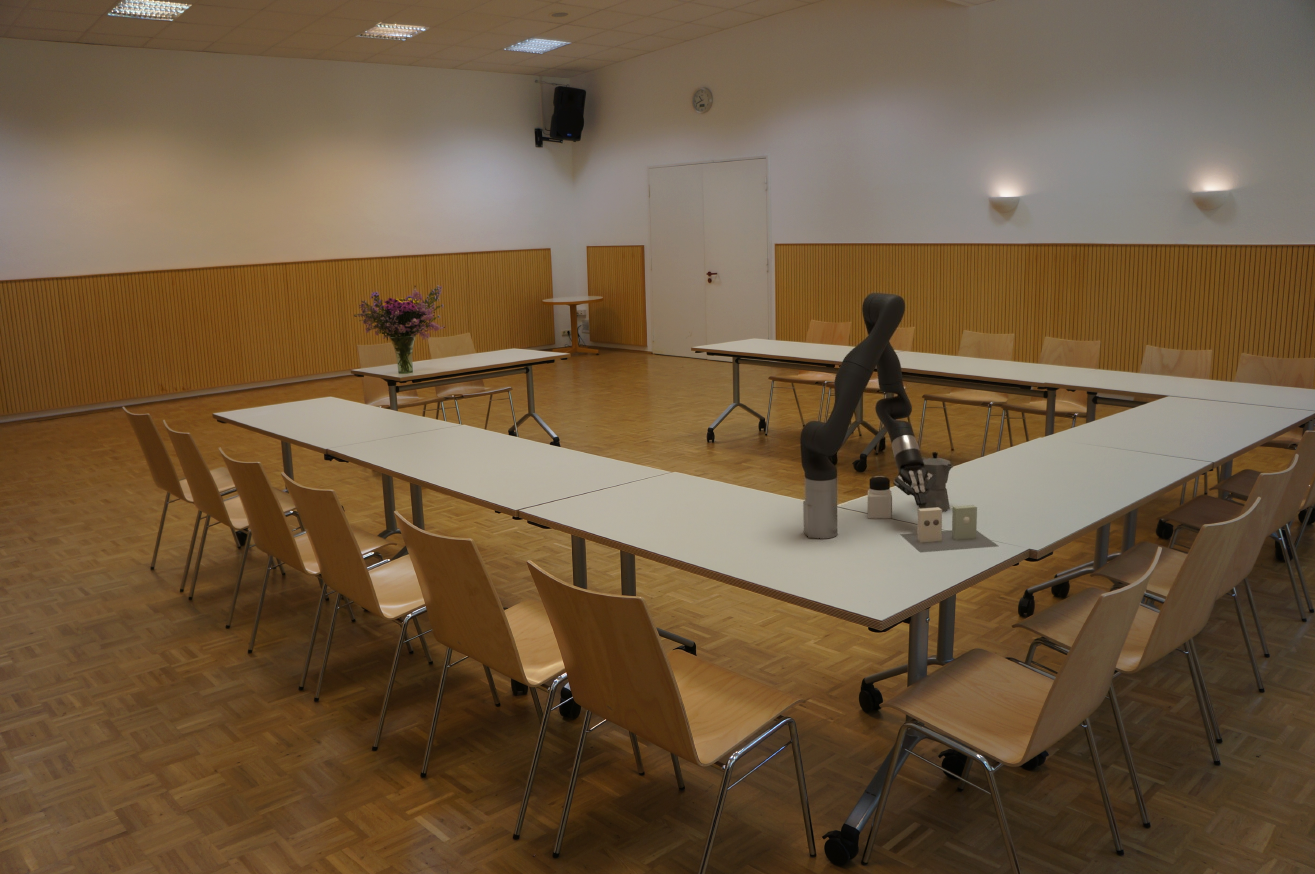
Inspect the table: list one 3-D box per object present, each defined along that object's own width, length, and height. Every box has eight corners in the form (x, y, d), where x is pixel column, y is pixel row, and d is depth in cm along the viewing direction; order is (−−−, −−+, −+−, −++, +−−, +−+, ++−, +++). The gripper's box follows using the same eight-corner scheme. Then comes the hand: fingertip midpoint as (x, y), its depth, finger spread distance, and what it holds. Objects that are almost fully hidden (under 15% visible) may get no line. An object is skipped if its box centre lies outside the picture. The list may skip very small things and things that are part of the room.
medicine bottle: (891, 518, 287) (892, 480, 285) (867, 518, 289) (867, 480, 286) (891, 512, 294) (891, 474, 292) (867, 511, 296) (867, 474, 293)
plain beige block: (920, 542, 263) (921, 511, 261) (917, 539, 265) (917, 508, 263) (941, 541, 263) (942, 509, 261) (938, 538, 266) (938, 507, 264)
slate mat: (920, 554, 255) (920, 552, 255) (899, 536, 271) (899, 534, 271) (999, 548, 257) (999, 546, 257) (974, 530, 273) (974, 528, 273)
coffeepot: (961, 509, 293) (962, 453, 290) (941, 515, 288) (942, 458, 284) (921, 499, 306) (922, 445, 302) (902, 505, 300) (902, 450, 297)
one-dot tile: (955, 540, 264) (956, 508, 262) (952, 537, 266) (952, 506, 264) (976, 538, 264) (977, 507, 262) (972, 535, 267) (973, 504, 265)
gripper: (888, 449, 274) (903, 501, 265) (932, 445, 275) (949, 497, 266) (882, 462, 281) (897, 514, 271) (925, 459, 282) (941, 510, 272)
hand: (922, 505), depth 269 cm, fingers closed
